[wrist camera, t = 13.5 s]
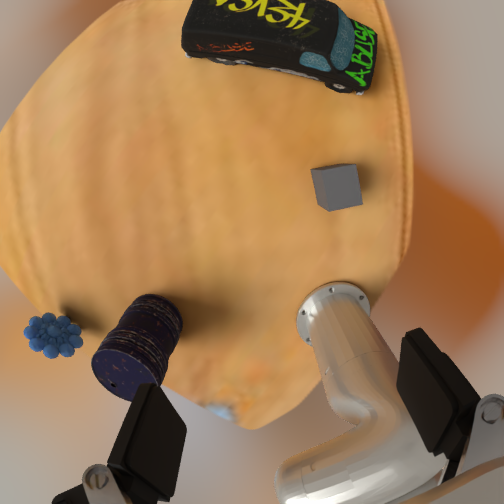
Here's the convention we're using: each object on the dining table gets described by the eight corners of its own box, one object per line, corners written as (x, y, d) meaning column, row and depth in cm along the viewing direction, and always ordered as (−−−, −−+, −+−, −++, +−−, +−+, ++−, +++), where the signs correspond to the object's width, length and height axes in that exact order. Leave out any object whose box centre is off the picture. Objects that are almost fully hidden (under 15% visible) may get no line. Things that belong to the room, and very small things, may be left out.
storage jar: (152, 282, 41) (112, 335, 27) (195, 324, 43) (174, 388, 29) (119, 313, 43) (79, 366, 29) (159, 350, 45) (133, 410, 31)
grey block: (347, 197, 37) (362, 204, 31) (317, 204, 37) (329, 211, 31) (340, 163, 35) (355, 164, 29) (310, 169, 35) (320, 170, 30)
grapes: (46, 318, 44) (15, 348, 33) (49, 295, 42) (14, 324, 31) (88, 347, 46) (61, 384, 34) (92, 326, 44) (62, 363, 33)
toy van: (357, 100, 32) (388, 84, 23) (186, 64, 31) (167, 36, 21) (365, 44, 29) (393, 18, 19) (205, 9, 27) (193, -26, 18)
